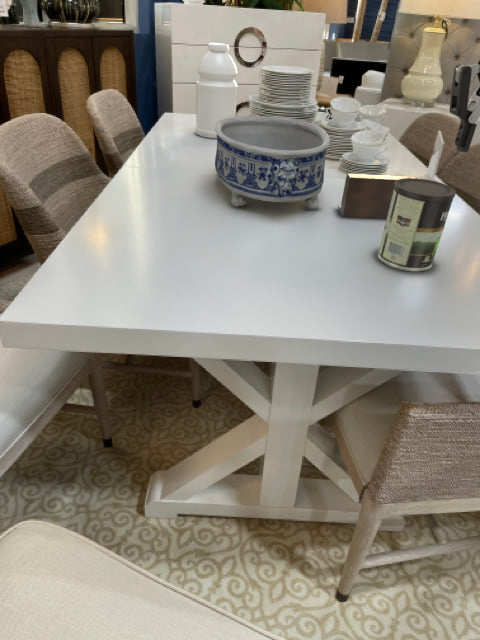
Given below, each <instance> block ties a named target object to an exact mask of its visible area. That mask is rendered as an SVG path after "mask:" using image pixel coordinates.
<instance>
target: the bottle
mask: <svg viewBox="0 0 480 640" xmlns="http://www.w3.org/2000/svg"><path fill="white" fill-rule="evenodd" d="M207 50H209V51H208V52H207V53H206V54H205V55H204V57H202V59H201V61H200V62H199V66H198V68H197V73H198V74H199V75H200V78H199V79H198V80H197V81H196V84H195V85H196V86H195V87H196V88H195V89H196V90H195V92H196V93H195V94H196V97H195V98H196V100H195V101H196V103H195V133H196V135H197V136H200V137H201V138H207V139H215V140H217V134H216V132H215V125H216V123H217V122H218V121H219V120H221V119H224V118H228V117H235V116H236V115H237V114H236V113H237V99H238V88H239V86H238V84H237V82H236V80H235V78H236V76H237V75H238V70H237V66H236V63H235V62H234V59H233V58H232V56H231V55H230V54H229V51H230V46H229V44H227V43H221V42H210V43H208V45H207Z"/></svg>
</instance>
